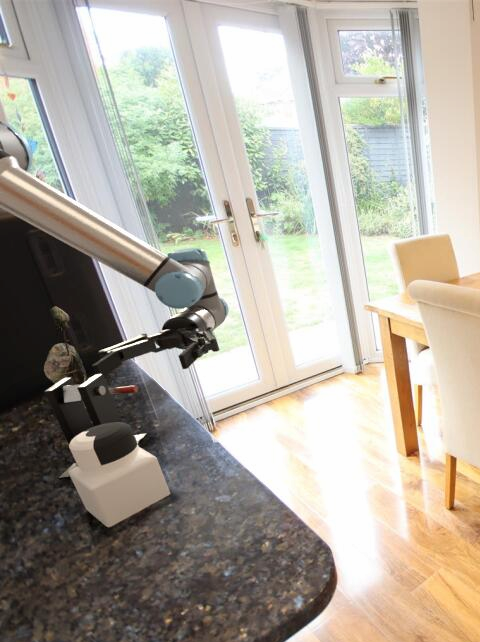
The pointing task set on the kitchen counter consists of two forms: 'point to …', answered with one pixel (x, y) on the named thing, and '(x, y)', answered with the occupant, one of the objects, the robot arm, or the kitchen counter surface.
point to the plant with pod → (64, 356)
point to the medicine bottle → (115, 473)
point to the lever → (74, 396)
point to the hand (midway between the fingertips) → (140, 367)
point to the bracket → (75, 414)
